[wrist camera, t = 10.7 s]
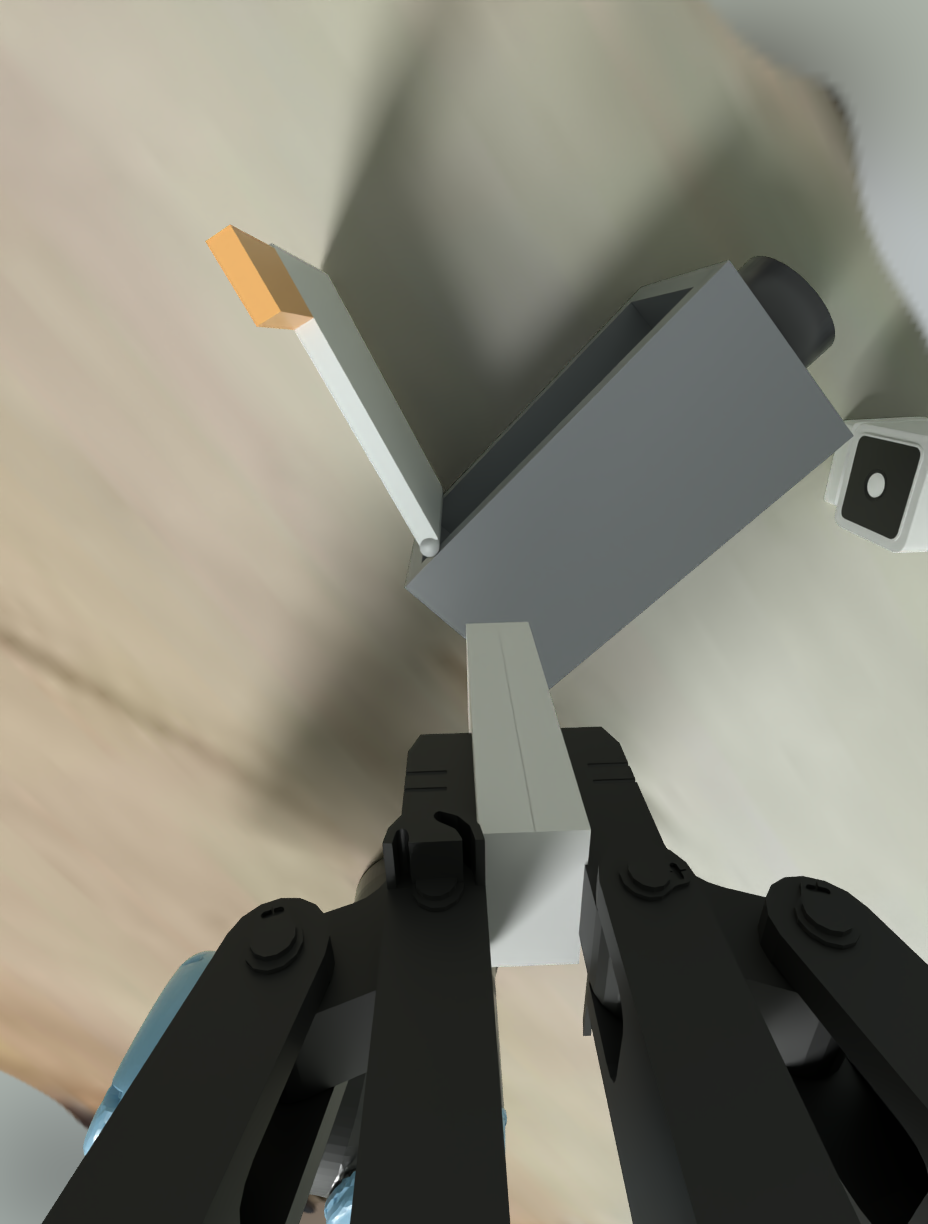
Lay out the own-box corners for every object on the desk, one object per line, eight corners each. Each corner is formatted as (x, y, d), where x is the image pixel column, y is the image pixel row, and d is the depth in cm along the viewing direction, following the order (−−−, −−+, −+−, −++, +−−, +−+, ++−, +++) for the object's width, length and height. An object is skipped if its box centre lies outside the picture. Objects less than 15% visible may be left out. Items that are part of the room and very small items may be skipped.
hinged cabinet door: (447, 496, 39) (442, 589, 24) (433, 503, 39) (420, 600, 24) (328, 274, 33) (226, 217, 18) (312, 284, 33) (198, 236, 18)
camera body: (516, 609, 43) (536, 699, 32) (418, 521, 40) (404, 587, 29) (776, 373, 36) (914, 385, 25) (681, 244, 33) (792, 195, 22)
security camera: (820, 414, 37) (937, 437, 28) (926, 409, 37) (1078, 430, 28) (799, 508, 40) (900, 557, 31) (899, 504, 40) (1029, 551, 31)
